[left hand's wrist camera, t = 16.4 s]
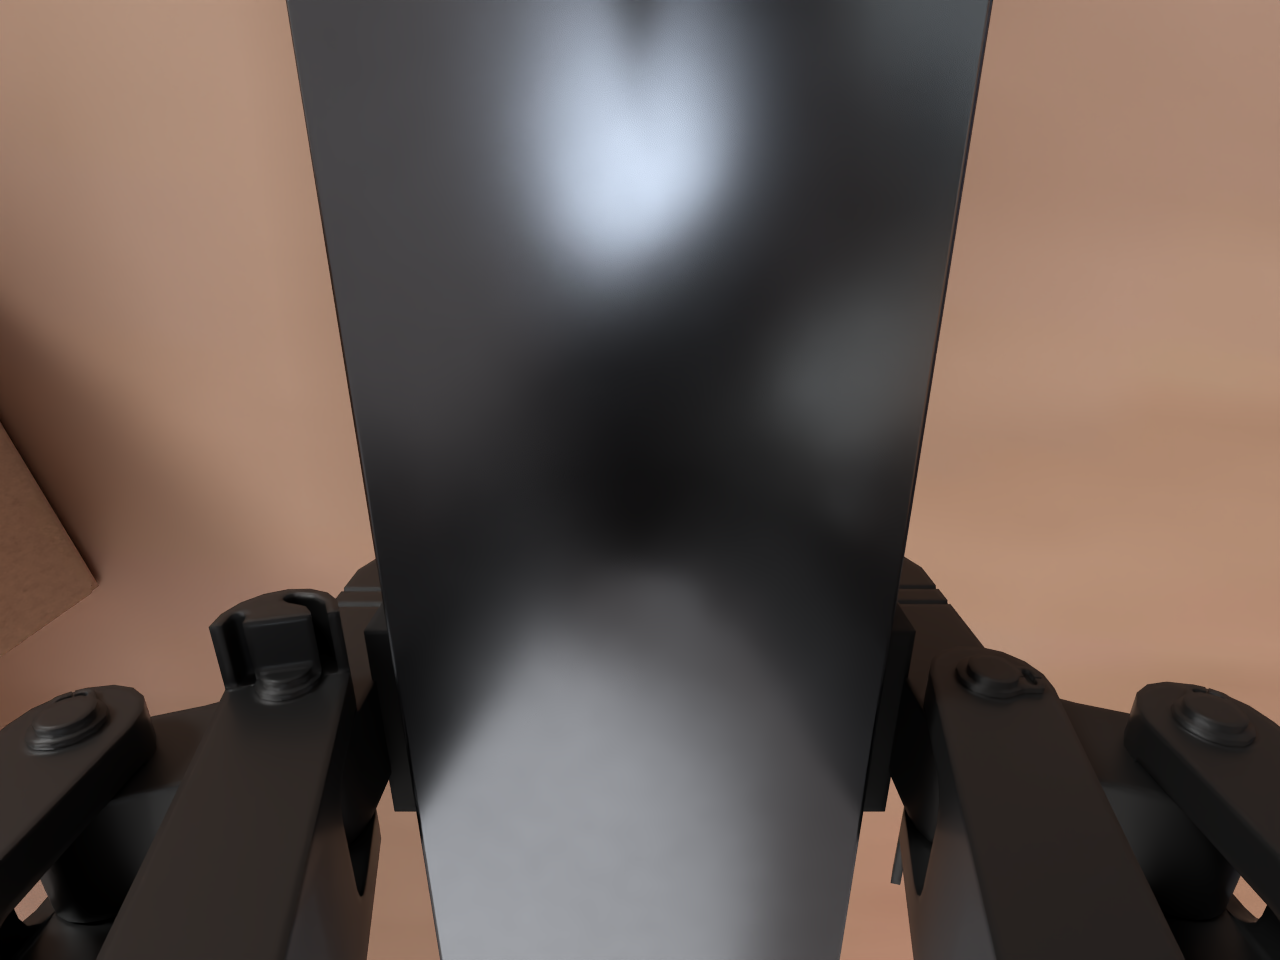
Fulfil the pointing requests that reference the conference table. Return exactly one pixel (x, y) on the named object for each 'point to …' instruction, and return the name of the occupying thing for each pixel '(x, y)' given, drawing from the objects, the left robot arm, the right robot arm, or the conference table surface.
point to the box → (33, 555)
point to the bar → (639, 435)
